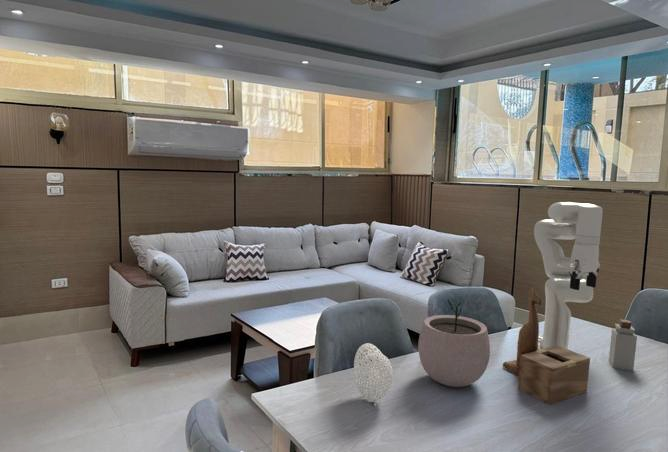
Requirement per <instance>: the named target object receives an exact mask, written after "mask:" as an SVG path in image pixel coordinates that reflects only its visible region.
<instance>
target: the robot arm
mask: <svg viewBox="0 0 668 452" xmlns="http://www.w3.org/2000/svg"><path fill="white" fill-rule="evenodd" d="M603 211H604V210H603V208H602V207H601V206H600V205H599V206H598V205H596V204H594V203H593V204H592V203H581V202H571V201H564V202H563V201H559V202H553V204H551V205H550V206H549V207H548V209H547V215H548V217H549V218H550V219H541V220H538V221H537V222H536V223H535V225H534V228H533V234H534V235H533V236H534V239H535V243H536V245H537V247H538V249H539V251H540V252H541V257H542V262H543V267H544V272H545V274H546V276H547V277H548V279H547V280H546V282H545V283H544V291H545V292H544V293H545V311H544V324H543V335H542V336H540V335H539V337H538V350H542V349H546V348H550V347H554V346H560V347H562V348H565V349H568V350H570V349H569V343H570V342H569V341H570V340H569V339H570V330H571V321H572V320H571V319H572V312H571V310H570V308H569V307H568V306H567V304H566V303H580V304H581V303H582V304H583V303H585V304H586V303H589V302H591V301H592V300H593V298H594V288H596V286H597V277H598V275H599V274H598V273H599V271H600V267H601V263H600V261H599V259H600V248H599V246H600V240H601V230H602V220H603ZM555 240H569V241H570V240H573V241H574V240H575V241H574V245H573V248H572V250H571V251H572V252H571V256H570V257H566V256H565V253H564V250H563V248H562V246H561V245H559V243H557V242H556V241H555ZM538 350H537V351H538Z"/></svg>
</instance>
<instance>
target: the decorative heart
mask: <svg viewBox="0 0 668 452" xmlns="http://www.w3.org/2000/svg"><path fill="white" fill-rule="evenodd" d="M393 371H394V370H393V366H392V364H391V361H390V360H389V358H388V357H387V356H386V355H384V354H383V353H382V351H381V350H380V349H379V348H378V347H377V346H376V345H374V344H372V343H370V342H367V343H363V344H362V345H361V346H359V348H357V350H356V353H355V356H354V361H353V372H354V373H353V374H354V380H355V384H356V387H357V390H358V392H359V393H360V395H361V397H362V398H363V399H364V400H365V401H366V402H369V403H374V405H373V406H374V407H376V404H377V403H376V401H378V409H379V410H380V409H381V399H383V397H384V396H386V395H387V393H388V392H389V390H390V388H391V385H392V382H393V378H394V377H393V376H394V373H393Z"/></svg>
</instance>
